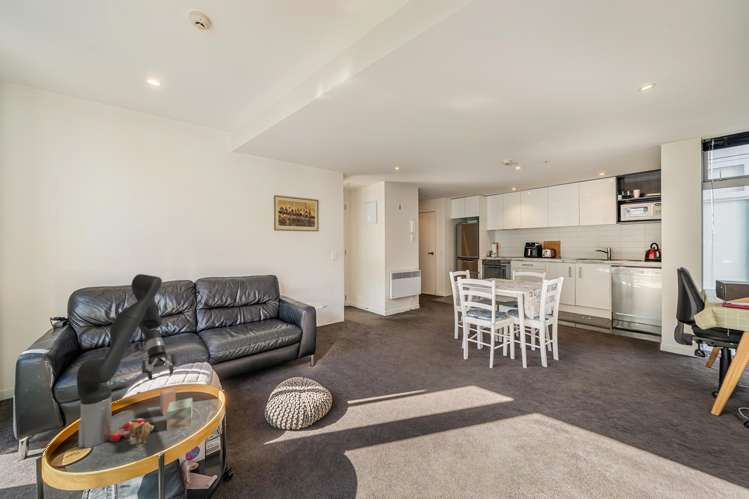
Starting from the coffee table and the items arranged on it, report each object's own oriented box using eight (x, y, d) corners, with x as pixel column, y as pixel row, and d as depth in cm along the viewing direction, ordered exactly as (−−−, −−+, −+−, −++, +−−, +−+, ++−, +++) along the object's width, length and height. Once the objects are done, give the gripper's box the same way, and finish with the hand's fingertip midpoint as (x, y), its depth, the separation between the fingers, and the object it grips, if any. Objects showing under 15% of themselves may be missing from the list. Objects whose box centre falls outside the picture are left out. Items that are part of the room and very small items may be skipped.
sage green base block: (166, 430, 128) (166, 411, 128) (169, 419, 136) (169, 402, 136) (191, 424, 133) (191, 406, 133) (192, 414, 141) (192, 397, 141)
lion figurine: (155, 442, 121) (156, 420, 120) (141, 450, 116) (141, 428, 116) (133, 433, 126) (133, 412, 126) (119, 441, 121) (119, 419, 121)
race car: (115, 444, 119) (115, 435, 119) (105, 442, 121) (105, 432, 121) (148, 425, 132) (148, 416, 132) (139, 423, 134) (139, 414, 134)
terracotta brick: (163, 415, 140) (163, 394, 139) (160, 411, 143) (160, 391, 143) (175, 411, 143) (175, 390, 143) (172, 407, 147) (172, 387, 146)
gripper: (140, 348, 150) (145, 377, 143) (172, 341, 161) (179, 368, 154) (137, 355, 154) (143, 384, 146) (170, 348, 165) (176, 375, 157)
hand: (161, 376), depth 150 cm, fingers open, 8 cm apart
